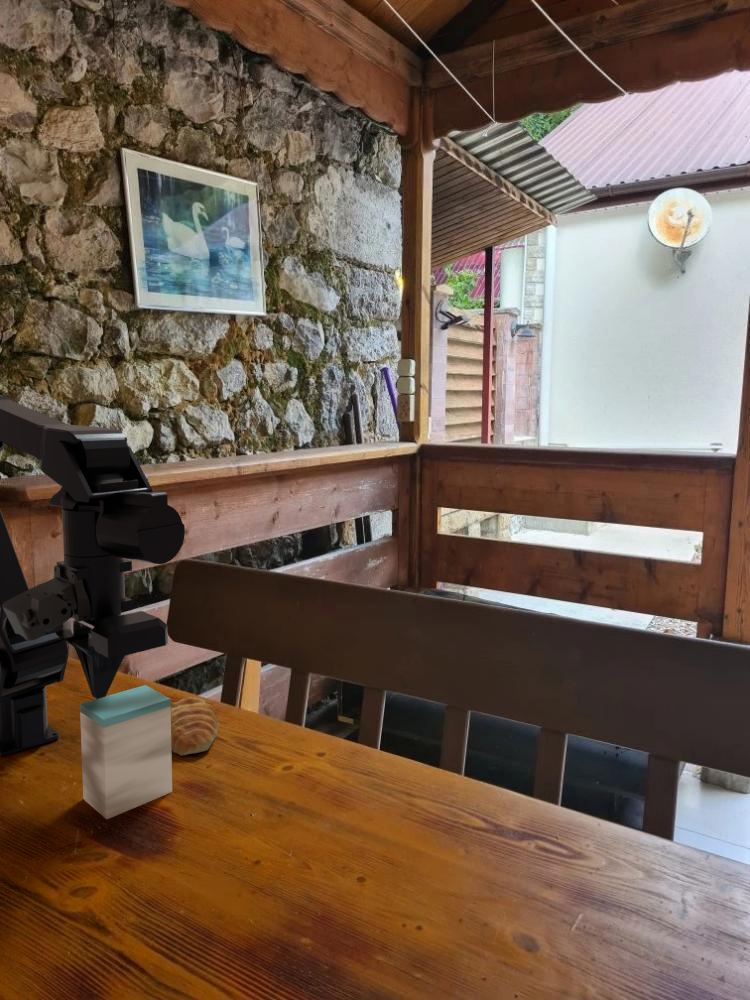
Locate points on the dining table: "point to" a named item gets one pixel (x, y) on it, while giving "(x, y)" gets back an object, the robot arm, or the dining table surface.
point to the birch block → (126, 750)
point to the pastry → (192, 726)
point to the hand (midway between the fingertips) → (99, 697)
